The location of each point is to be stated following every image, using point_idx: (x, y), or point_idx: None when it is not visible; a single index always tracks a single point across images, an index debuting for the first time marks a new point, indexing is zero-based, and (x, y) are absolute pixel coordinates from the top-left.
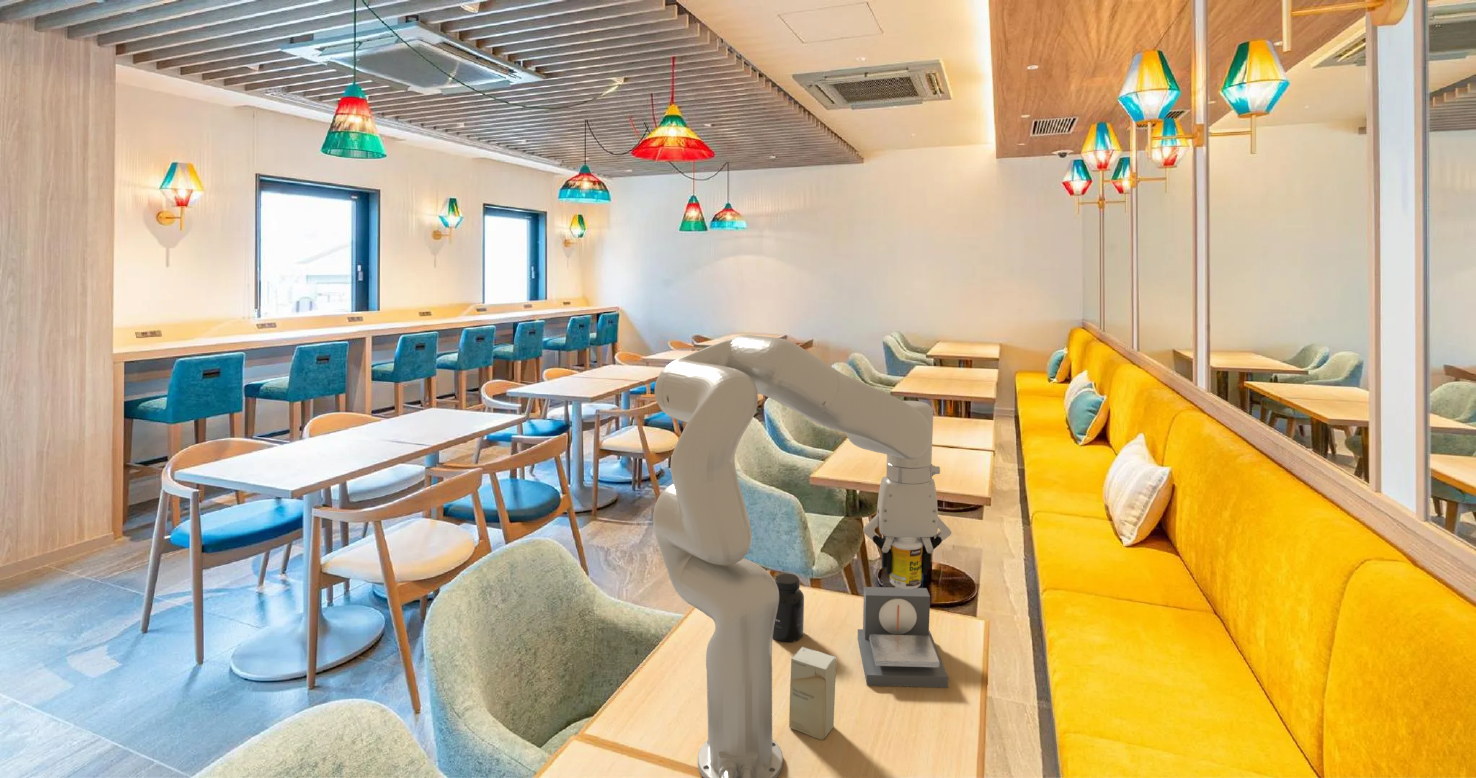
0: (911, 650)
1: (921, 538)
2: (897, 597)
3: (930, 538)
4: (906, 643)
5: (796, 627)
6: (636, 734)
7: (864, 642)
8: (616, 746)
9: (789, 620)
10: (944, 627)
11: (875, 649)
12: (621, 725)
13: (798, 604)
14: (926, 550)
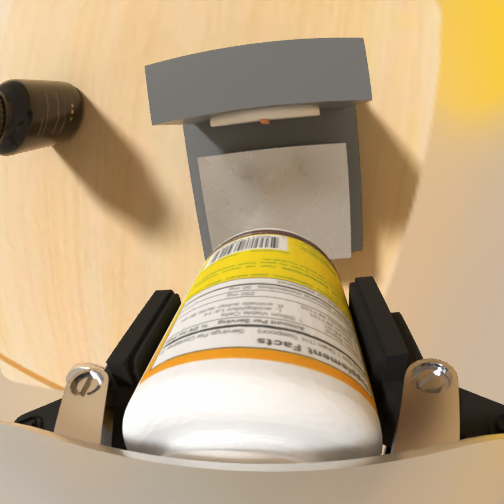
0: (295, 218)
1: (396, 429)
2: (258, 107)
3: (461, 435)
4: (286, 187)
5: (59, 135)
6: (18, 354)
7: (194, 138)
8: (17, 366)
9: (39, 147)
10: (379, 16)
11: (213, 224)
12: (4, 342)
13: (29, 137)
14: (384, 450)
